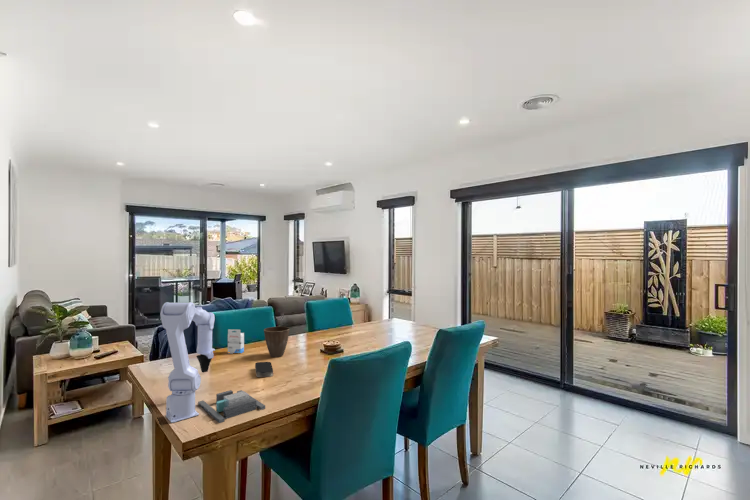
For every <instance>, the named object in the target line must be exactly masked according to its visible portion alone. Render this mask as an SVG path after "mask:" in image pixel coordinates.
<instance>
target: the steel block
mask: <svg viewBox="0 0 750 500" xmlns="http://www.w3.org/2000/svg"><path fill="white" fill-rule="evenodd" d="M249 395H250V394H249V393H248V392H246V391H244V390H242V392H238V393H237V392H235V393H234V392H233V394H231V395H227V396H224V408H225V407H229V406H232V405H235V404H239V403H242V402H246V401H249Z"/></svg>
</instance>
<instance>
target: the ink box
mask: <svg viewBox="0 0 750 500" xmlns="http://www.w3.org/2000/svg"><path fill="white" fill-rule="evenodd" d="M241 331H242V330H241V329H236V328H235V329H229V328H228V329H227V353H228V352H230V353H229V354H233V353H241V354H242V353H244V352H245V332H241Z"/></svg>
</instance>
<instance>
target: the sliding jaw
mask: <svg viewBox="0 0 750 500" xmlns="http://www.w3.org/2000/svg"><path fill="white" fill-rule="evenodd" d="M231 394H234V391H233V390H231V389H230V390H227V391H226V390H225V391H223V392H219V393H216V397H215V399H216V403H215V404H216V405H215V406H216V407H215V411H217V412H218V413H221V412H222V413H223V411H224V396H227V395H231Z"/></svg>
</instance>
